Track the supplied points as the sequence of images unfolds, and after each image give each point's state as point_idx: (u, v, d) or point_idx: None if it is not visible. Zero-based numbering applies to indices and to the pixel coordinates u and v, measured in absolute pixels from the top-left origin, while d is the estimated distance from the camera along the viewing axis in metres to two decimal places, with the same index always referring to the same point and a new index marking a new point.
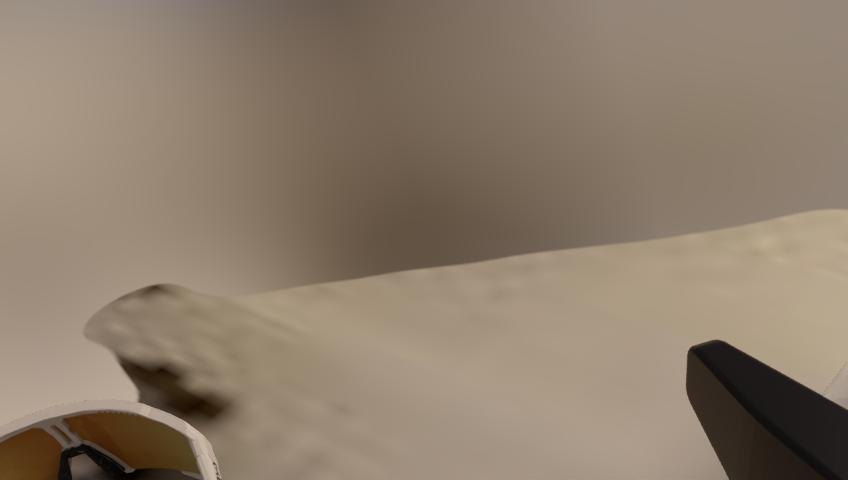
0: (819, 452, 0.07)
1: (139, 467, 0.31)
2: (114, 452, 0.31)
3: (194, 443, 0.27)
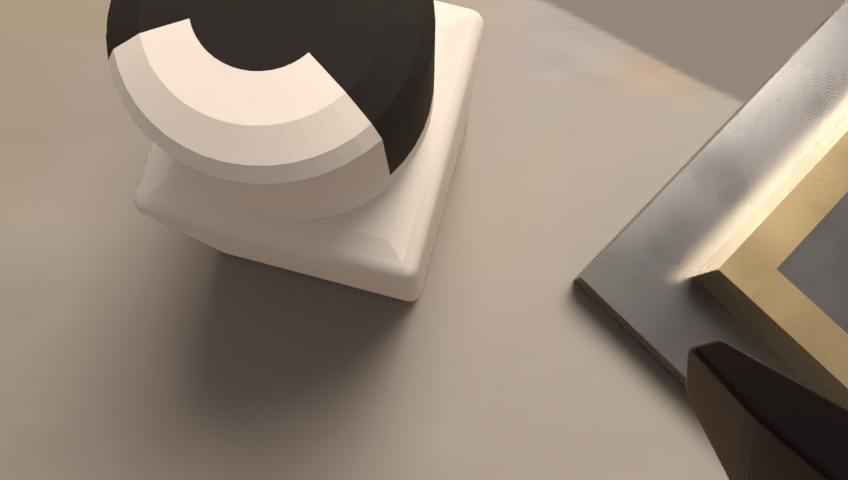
0: (819, 452, 0.07)
1: None
2: None
3: None
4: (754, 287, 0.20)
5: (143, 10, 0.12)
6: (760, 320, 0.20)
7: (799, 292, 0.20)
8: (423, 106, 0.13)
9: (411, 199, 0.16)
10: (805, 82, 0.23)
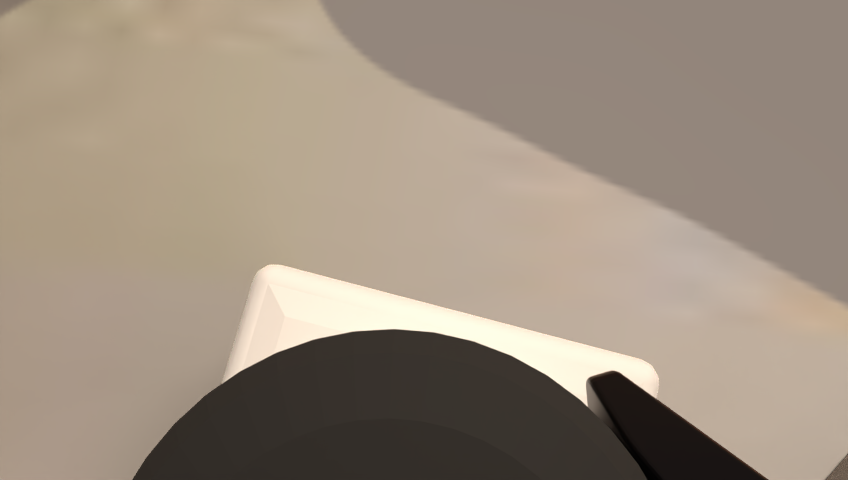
0: None
1: None
2: None
3: None
4: None
5: None
6: None
7: None
8: None
9: None
10: None
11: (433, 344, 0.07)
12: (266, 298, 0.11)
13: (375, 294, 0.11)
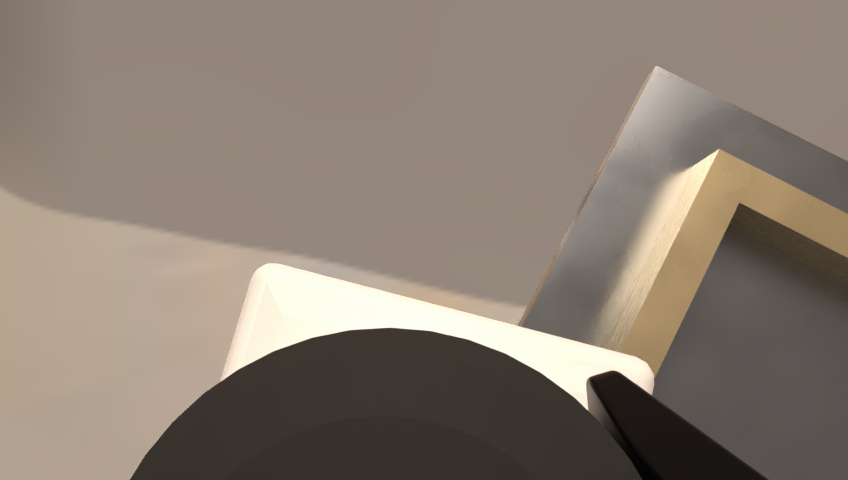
0: None
1: None
2: None
3: None
4: None
5: None
6: None
7: None
8: None
9: None
10: (576, 282, 0.21)
11: (428, 342, 0.07)
12: (264, 297, 0.11)
13: (372, 293, 0.11)
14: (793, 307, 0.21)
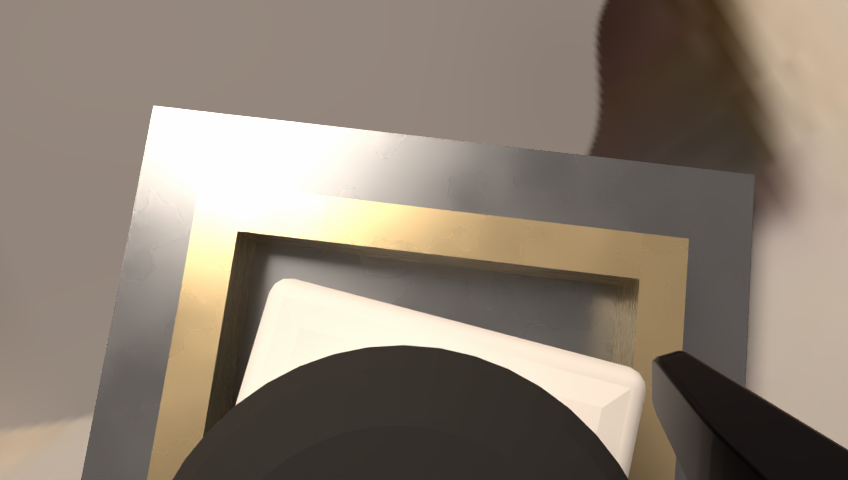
0: (772, 467, 0.07)
1: None
2: None
3: None
4: None
5: None
6: None
7: None
8: None
9: None
10: (134, 370, 0.19)
11: (439, 358, 0.08)
12: (282, 310, 0.12)
13: (383, 306, 0.12)
14: None
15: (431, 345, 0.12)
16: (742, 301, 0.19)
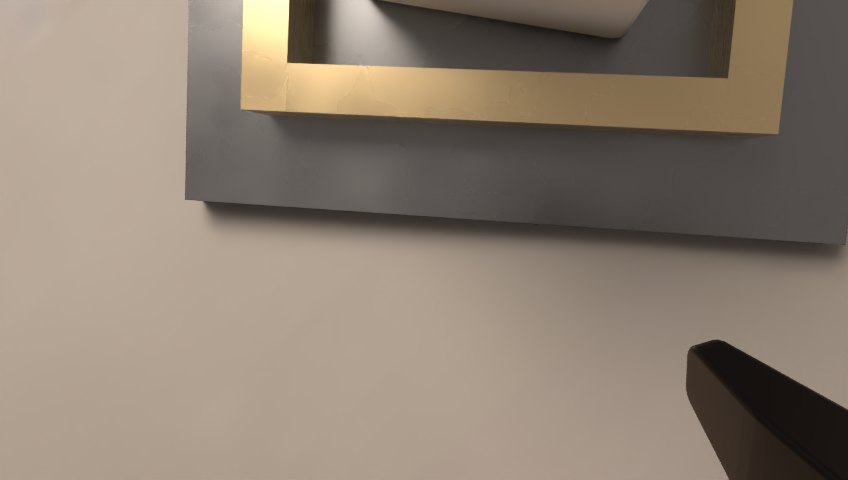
0: (819, 452, 0.07)
1: None
2: None
3: None
4: (282, 97, 0.17)
5: None
6: (326, 115, 0.18)
7: (321, 66, 0.17)
8: None
9: None
10: None
11: None
12: None
13: None
14: None
15: None
16: None
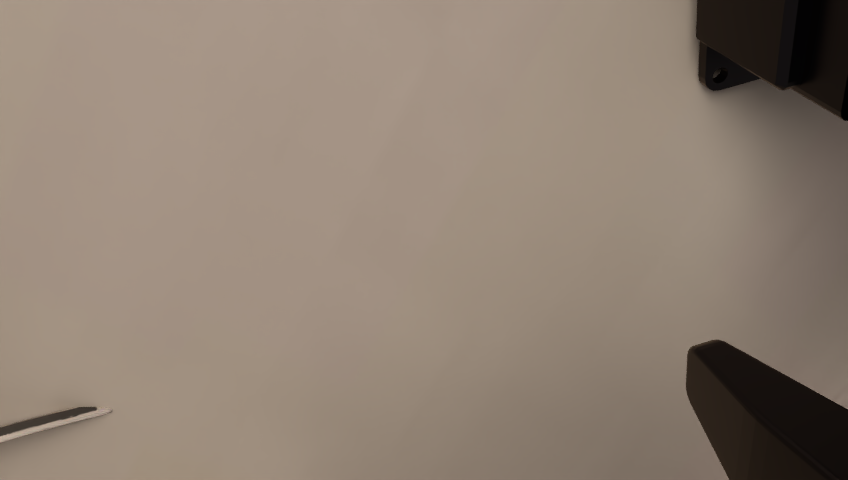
0: (819, 452, 0.07)
1: None
2: None
3: None
4: None
5: None
6: None
7: None
8: None
9: None
10: None
11: None
12: None
13: None
14: None
15: None
16: None
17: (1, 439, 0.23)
